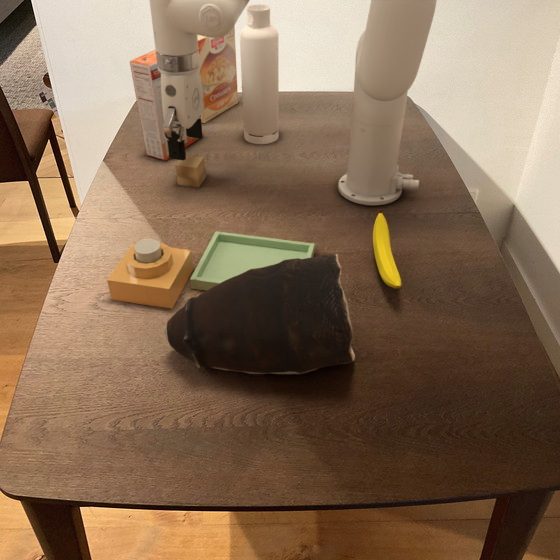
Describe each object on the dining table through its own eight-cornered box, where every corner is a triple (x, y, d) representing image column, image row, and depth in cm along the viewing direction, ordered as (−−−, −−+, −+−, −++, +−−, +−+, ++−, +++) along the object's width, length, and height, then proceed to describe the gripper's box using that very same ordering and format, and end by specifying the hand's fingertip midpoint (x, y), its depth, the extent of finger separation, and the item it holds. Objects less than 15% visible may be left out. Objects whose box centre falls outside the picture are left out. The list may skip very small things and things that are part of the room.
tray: (314, 252, 99) (314, 243, 98) (299, 304, 89) (299, 294, 88) (216, 240, 102) (215, 230, 101) (191, 288, 92) (189, 278, 91)
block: (205, 176, 120) (204, 156, 117) (199, 187, 117) (196, 167, 114) (185, 174, 121) (183, 154, 118) (177, 184, 117) (175, 164, 114)
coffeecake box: (204, 124, 140) (197, 40, 128) (181, 117, 143) (172, 35, 130) (239, 103, 150) (235, 23, 137) (217, 97, 153) (211, 19, 140)
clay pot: (151, 260, 78) (333, 226, 76) (185, 328, 89) (345, 301, 87) (140, 348, 68) (350, 312, 66) (180, 413, 79) (361, 384, 77)
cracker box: (183, 131, 137) (173, 40, 123) (204, 137, 134) (195, 44, 121) (143, 155, 127) (127, 59, 114) (165, 162, 125) (151, 64, 112)
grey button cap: (165, 250, 91) (164, 239, 89) (156, 265, 88) (154, 255, 86) (142, 247, 91) (140, 236, 90) (131, 262, 88) (129, 251, 87)
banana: (384, 311, 88) (389, 278, 84) (368, 238, 103) (371, 208, 98) (403, 310, 88) (409, 278, 84) (384, 238, 103) (388, 208, 99)
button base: (193, 269, 96) (190, 239, 92) (172, 309, 88) (167, 278, 84) (137, 261, 98) (131, 232, 94) (111, 299, 90) (104, 269, 86)
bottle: (238, 132, 136) (232, 5, 118) (270, 126, 139) (268, 0, 121) (252, 146, 130) (247, 14, 113) (284, 140, 133) (285, 10, 115)
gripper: (181, 78, 96) (190, 170, 107) (212, 46, 109) (217, 131, 120) (139, 74, 97) (151, 166, 108) (175, 43, 110) (183, 127, 121)
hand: (186, 147), depth 114 cm, fingers open, 9 cm apart
